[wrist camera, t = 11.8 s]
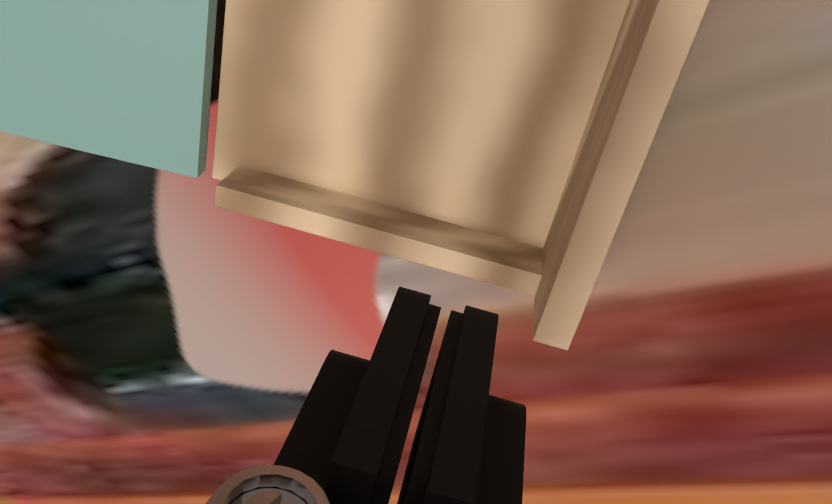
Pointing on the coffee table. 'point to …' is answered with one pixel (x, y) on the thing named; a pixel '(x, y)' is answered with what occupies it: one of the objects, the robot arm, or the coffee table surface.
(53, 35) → the panel
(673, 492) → the coffee table surface
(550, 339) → the trailer bed
